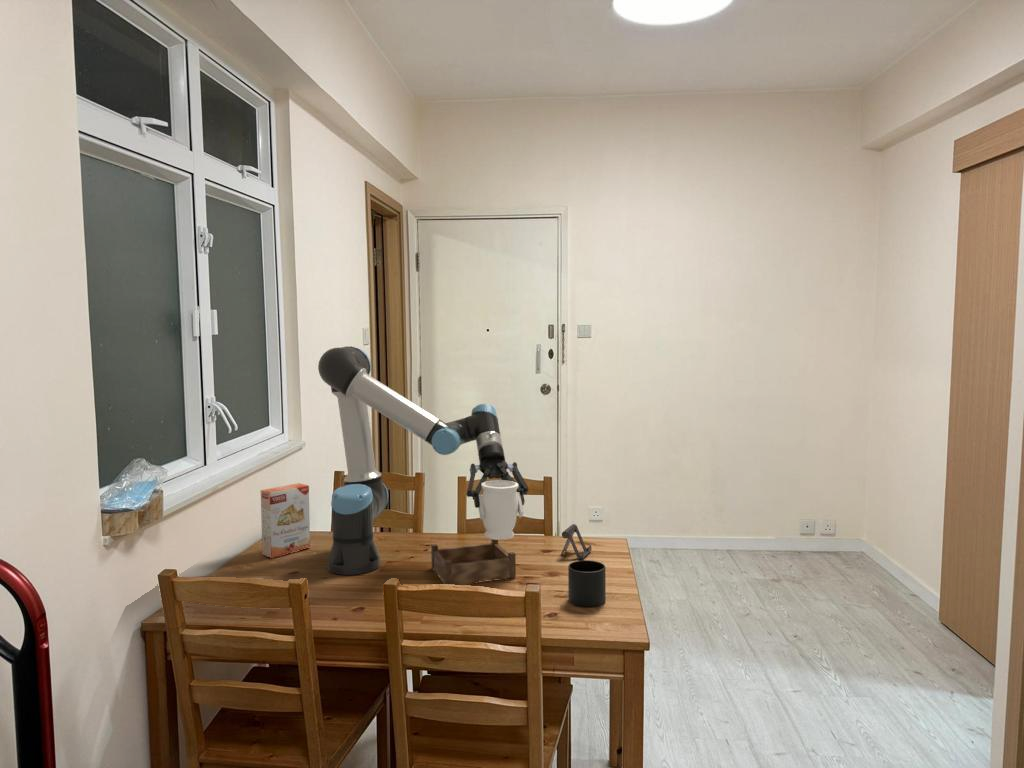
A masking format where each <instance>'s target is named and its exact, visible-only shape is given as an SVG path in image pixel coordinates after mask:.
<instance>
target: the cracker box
mask: <svg viewBox="0 0 1024 768" xmlns="http://www.w3.org/2000/svg"><path fill="white" fill-rule="evenodd" d="M260 515H261V517H260V519H261V520H260V521H261V522H260V523H261V547H262V548H261V549H262V551H261V552H262V554H263V555H265V556H264V557H266V556H267V558H268V557H270V558H269V559H271V558H273V559H275V558H274V557H277V556H280V557H282V556H281V555H284V554H287V553H291V552H293V551H297V550H301V549H304V548H308V547H310V548H311V529H310V527H311V524H310V523H311V522H310V520H311V519H310V517H311V516H310V486H309V485H308V484H306V483H305V484H304V483H300V482H298V483H293V484H289V485H283V486H277V487H272V488H271V487H270V488H266V489H261V490H260ZM263 555H262V556H263ZM284 556H285V555H284ZM277 558H278V557H277Z"/></svg>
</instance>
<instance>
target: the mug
mask: <svg viewBox="0 0 1024 768" xmlns="http://www.w3.org/2000/svg"><path fill="white" fill-rule="evenodd" d="M567 569H568V570H567V571H568V572H567V574H568V575H567V576H568V579H567V580H568V584H567V585H568V589H567V590H568V592H567V593H568V601H569V603H570V604H572V605H574V606H577V607H583V608H595V607H599V606H601V605H603V604H605V602H606V601H607V599H606V594H607V593H606V589H607V588H606V587H607V586H606V583H607V581H606V580H607V579H606V565H605V564H604V563H602V562H600V561H595V560H587V559H586V560H585V559H582V560H577V561H573V562H571V563H569V564H568V567H567Z"/></svg>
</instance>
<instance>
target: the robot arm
mask: <svg viewBox="0 0 1024 768" xmlns="http://www.w3.org/2000/svg"><path fill="white" fill-rule="evenodd" d="M317 368H318V369H317V370H318V373H319V376H320V378H321V380H322V381H323V382H324V383H325V384H326V385H328V386H329V387H330V389H331V394H333V395H334V396H335V397H336V398H337V402H338V403H337V404H338V410H339V418H340V425H341V426H340V427H341V431H342V439H343V447H344V453H345V460H346V469H347V475H346V476H345V478H344V479H343V483H344V486H340V487H337V488H336V489H335V490H333V492H332V493H331V494H332V495H331V502H330V506H331V523H332V524H331V525H332V527H331V528H332V545H331V548H330V552H329V556H328V559H327V570H328V572H330V573H332V574H336V575H342V576H350V575H351V576H353V575H362V574H367V573H369V572H373V571H374V570H375V571H376V570H377V569H379V567H380V566H381V557H380V553H379V551H378V548H377V545H376V543H375V540H374V520H375V519H376V518H377V517H378V516H380V515H381V514H382V513H383V511H384V510H385V508H386V506H387V504H388V502H389V491H388V488H387V487H386V485H385V483H383V477H382V473H381V472H380V471H378V470H377V469H376V468H377V467H376V460H375V455H374V446H373V445H374V444H373V439H372V430H371V425H370V424H371V423H370V415H369V408H368V406H369V407H371V408H372V409H373V410H375V411H377V412H378V413H380V414H381V415H383V416H384V417H386V418H387V419H389V420H391V421H392V422H394V423H395V424H397V425H398V426H401V427H402V428H404V429H406V430H407V431H408V432H410V433H412V434H413V435H415V436H417V437H418V438H420V439H421V440H423V441H424V442H426V443H428V444H429V445H431V446H432V449H433V450H434V451H435V452H436V453H437V454H439V455H441V456H447V455H451V454H453V453H455V452H456V451H457V450H458V449H459V447H460V446H461V445H464V444H466V443H467V444H468V443H470V442H473V441H475V443H476V448H477V455H478V461H479V464H475V463H471V464H470V467H469V474H470V476H469V481H468V485H467V486H468V487H467V489H466V497H468V498H470V497H471V498H472V500H473V503H474V507H475V508H476V509H477V508H478V512H479V520H483V518H484V508H483V501H482V493H481V491H482V489H483V488H482V483H483V482H486V481H487V480H488V479H490V480H493V479H500V480H506V481H513V482H516V483H518V489H517V494H518V513H517V515H518V518H522V517H523V515H524V508H523V506H525V502H526V501H525V495H527V494H528V492H529V485H528V484H527V482H526V481H525V479H524V477H523V476H522V474H521V472H520V471H519V468H518V463H517V462H516V461H515V462H513V463H508V462H507V461H506V457H505V452H504V448H503V442H502V438H501V437H502V436H501V432H500V424H499V419H498V416H497V413H496V409H495V407H494V406H493V405H491V404H489V403H480V404H478V405H476V406H474V407H473V408H472V410H471V415H468V416H466V417H463V418H460V419H456V420H453V421H449V422H445V421H443V420H441V419H439V418H438V417H436V416H435V415H433V414H432V413H430V412H429V411H427V410H426V409H424V408H422V407H421V406H419V405H417V404H416V403H414V402H413V401H411V400H410V399H408V398H407V397H405V396H403V395H401V394H400V393H398V392H397V391H395V390H394V389H392V388H391V387H388V386H387V385H386V384H384V383H382V382H381V381H379V380H377V379H376V378H374V377H373V376H371V375H370V373H371V370H372V364H371V359H370V358H369V355H368V354H367V353H366V352H365V351H364V350H363V349H361V348H359V347H355V346H352V345H351V346H343V347H342V346H341V347H333V348H330V349H328V350H326V351H325V352H323V354H322V355H321V357H320V358H319V360H318V366H317ZM508 470H509V472H510V473H511V474H512V476H511V475H510V474H509V472H508ZM478 471H480V472H481V473H482V475H481V479H480V480H479V482H478V484H477V486H476V488H475V490H473V489H474V488H473V487H474V482H475V477H476V474H477V473H478ZM513 478H514V479H513Z"/></svg>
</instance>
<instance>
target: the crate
mask: <svg viewBox="0 0 1024 768" xmlns="http://www.w3.org/2000/svg"><path fill="white" fill-rule="evenodd" d="M490 540H491V541H490V542H489V543H488V542H487V543H480V544H479V543H478V544H471V545H464V546H463V545H461V546H454V547H445V548H439V546H438V544H436V543H435V544H430V549H431V551H430V552H431V553H430V554H431V557H430V559H431V569H434V570H435V571H436V573H437V574H438V575H439V576H440V578H441V579H442V580H443V582H444V583H445V584H455V585H461V586H467V585H473V584H472V583H475V584H477V583H476V582H479V581H485V580H495V579H505V578H506V579H505V580H508V579H507V578H514V579H516V578H517V577H516V576H517V570H516V563H517V562H516V552H514V551H513V552H512V551H511V552H508V551H507V550H506V549H504V548H503V546H501V545H500V544H499V540H493V539H490ZM434 570H433V571H434ZM435 571H434V572H435ZM436 573H435V574H436ZM437 574H436V575H437ZM438 575H437V576H438ZM515 577H516V578H515ZM440 578H439V579H440ZM441 579H440V580H441ZM443 582H442V583H443ZM444 583H443V584H444Z"/></svg>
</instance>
